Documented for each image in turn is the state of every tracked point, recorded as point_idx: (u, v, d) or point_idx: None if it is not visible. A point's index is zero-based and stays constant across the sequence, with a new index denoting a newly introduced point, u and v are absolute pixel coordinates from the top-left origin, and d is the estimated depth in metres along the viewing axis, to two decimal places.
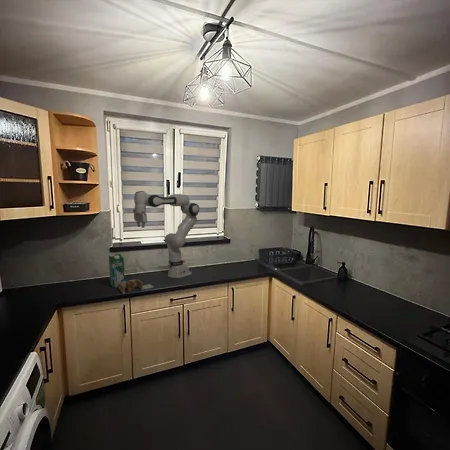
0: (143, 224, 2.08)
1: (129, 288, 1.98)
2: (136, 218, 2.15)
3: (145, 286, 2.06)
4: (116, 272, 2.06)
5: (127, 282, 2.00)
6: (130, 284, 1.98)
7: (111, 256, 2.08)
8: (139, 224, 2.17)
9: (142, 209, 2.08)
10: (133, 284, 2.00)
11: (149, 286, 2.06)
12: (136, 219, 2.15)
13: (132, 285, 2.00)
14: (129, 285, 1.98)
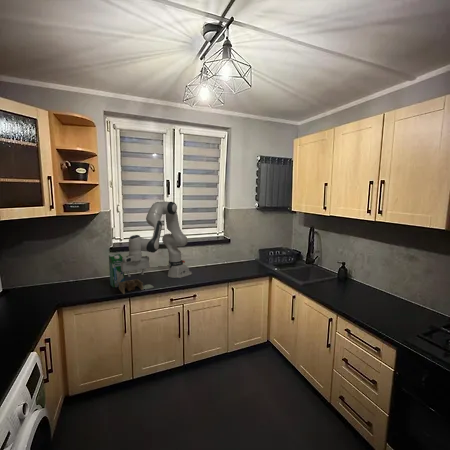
0: None
1: (129, 288, 1.98)
2: (129, 268, 1.84)
3: (145, 286, 2.06)
4: (116, 272, 2.06)
5: (127, 282, 2.00)
6: (130, 284, 1.98)
7: (111, 256, 2.08)
8: (128, 274, 1.86)
9: None
10: (133, 284, 2.00)
11: (149, 286, 2.06)
12: (129, 269, 1.84)
13: (132, 285, 2.00)
14: (129, 285, 1.98)
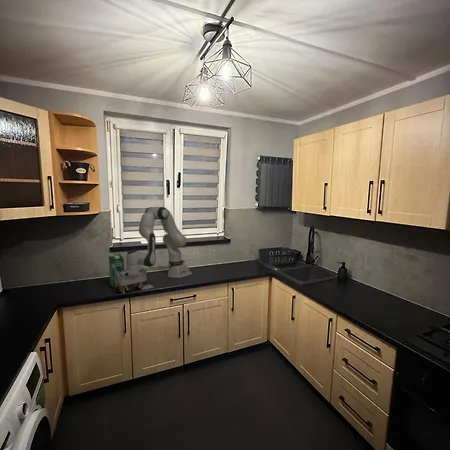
0: None
1: (129, 288, 1.98)
2: (127, 282, 1.91)
3: (145, 286, 2.06)
4: (116, 272, 2.06)
5: None
6: (130, 284, 1.98)
7: (111, 256, 2.08)
8: (126, 287, 1.94)
9: None
10: (133, 284, 2.00)
11: (149, 286, 2.06)
12: (127, 282, 1.91)
13: (132, 285, 2.00)
14: (129, 285, 1.98)
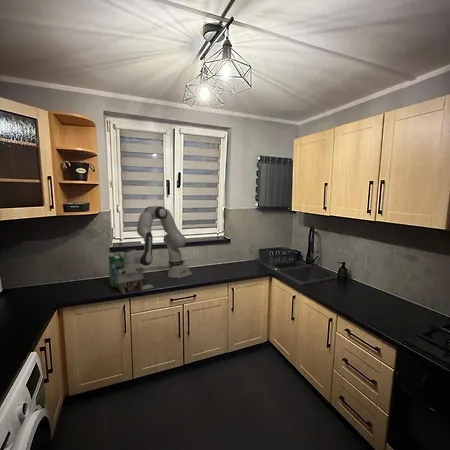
0: None
1: (129, 288, 1.98)
2: (125, 280, 1.96)
3: (145, 286, 2.06)
4: (116, 272, 2.06)
5: (127, 282, 2.00)
6: (130, 284, 1.98)
7: (111, 256, 2.08)
8: (126, 285, 1.99)
9: None
10: (133, 284, 2.00)
11: (149, 286, 2.06)
12: (124, 280, 1.96)
13: (132, 285, 2.00)
14: (129, 285, 1.98)
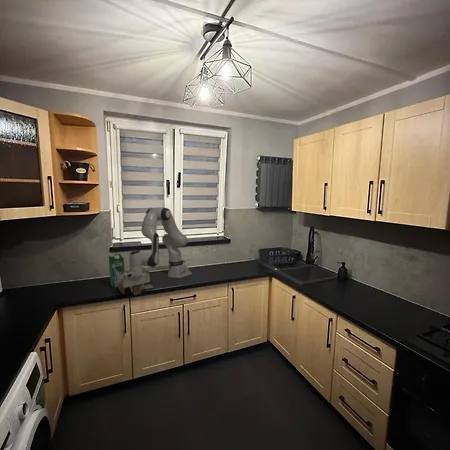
0: None
1: (135, 292, 1.87)
2: (130, 283, 1.85)
3: (145, 286, 2.06)
4: (116, 272, 2.06)
5: (133, 286, 1.89)
6: (136, 288, 1.87)
7: (111, 256, 2.08)
8: (131, 288, 1.88)
9: None
10: (139, 288, 1.89)
11: (149, 286, 2.06)
12: (130, 284, 1.85)
13: (138, 289, 1.89)
14: (135, 289, 1.87)
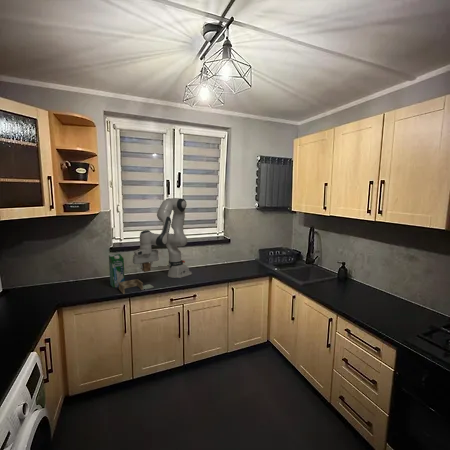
0: None
1: (145, 269, 2.02)
2: (141, 260, 2.00)
3: (145, 286, 2.06)
4: (116, 272, 2.06)
5: (143, 263, 2.04)
6: (146, 265, 2.02)
7: (111, 256, 2.08)
8: (141, 266, 2.03)
9: None
10: (149, 265, 2.03)
11: (149, 286, 2.06)
12: (140, 261, 2.00)
13: (148, 266, 2.03)
14: (145, 266, 2.01)
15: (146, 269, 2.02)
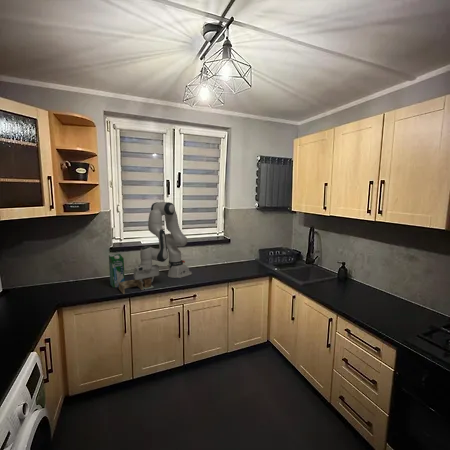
0: None
1: (146, 285, 2.03)
2: (141, 276, 2.01)
3: None
4: (116, 272, 2.06)
5: (143, 279, 2.05)
6: (146, 281, 2.03)
7: (111, 256, 2.08)
8: (141, 281, 2.04)
9: None
10: (149, 281, 2.05)
11: None
12: (141, 277, 2.01)
13: (148, 282, 2.05)
14: (146, 282, 2.03)
15: (147, 285, 2.04)
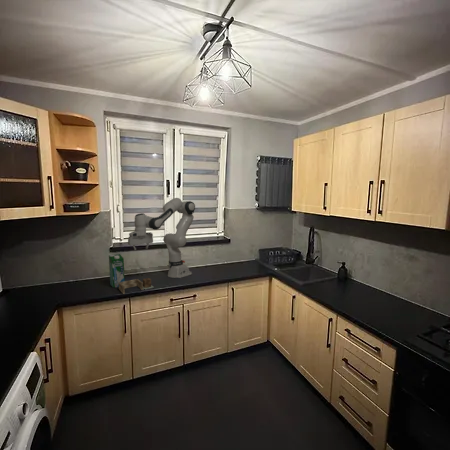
0: None
1: (146, 285, 2.03)
2: (135, 242, 2.08)
3: None
4: (116, 272, 2.06)
5: (143, 279, 2.05)
6: (146, 281, 2.03)
7: (111, 256, 2.08)
8: None
9: None
10: (149, 281, 2.05)
11: None
12: (135, 243, 2.08)
13: (148, 282, 2.05)
14: (146, 282, 2.03)
15: (147, 285, 2.04)
